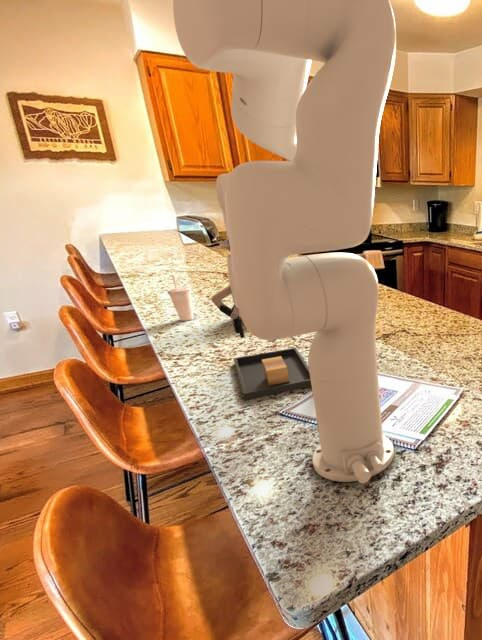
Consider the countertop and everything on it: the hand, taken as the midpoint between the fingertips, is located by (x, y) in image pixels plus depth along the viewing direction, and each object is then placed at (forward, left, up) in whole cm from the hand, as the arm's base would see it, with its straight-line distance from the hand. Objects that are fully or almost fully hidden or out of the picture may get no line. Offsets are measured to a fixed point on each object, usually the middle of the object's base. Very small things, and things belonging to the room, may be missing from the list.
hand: (267, 332), depth 87 cm
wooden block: (0, 0, -11) cm, 11 cm away
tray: (+5, 0, -12) cm, 13 cm away
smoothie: (+65, +17, -12) cm, 68 cm away
